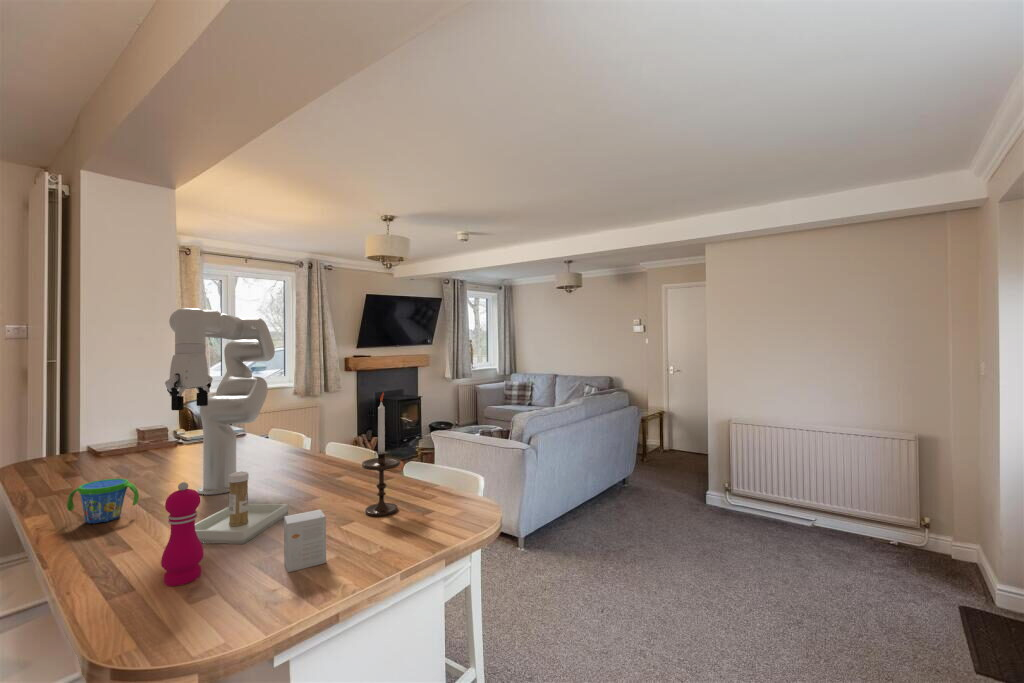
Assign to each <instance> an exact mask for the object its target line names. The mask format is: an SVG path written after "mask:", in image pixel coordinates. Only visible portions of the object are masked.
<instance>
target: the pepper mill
mask: <svg viewBox="0 0 1024 683" xmlns="http://www.w3.org/2000/svg"><path fill="white" fill-rule="evenodd" d="M177 489H178V490H174V492H172V493H171V494H169V495H168V496H167V497H166V500H165V505H164V507H165V511H166V512H168V514H169V515H168V516H167V518H168V520H167V523H168V524H170V535H169V538H168V542H167V544H166V546H165V548H164V551H163V553H162V555H161V562H160V563H161V564H160V565H161V567H162V569H163V570H165V571H166V572H164V575H163V583H164V585H165V586H167V587H179V586H182V585H186V584H189V583H192V582H194V581H196V580H198V579H199V578H200V576H201V574H202V566H201V564H200V563H201V561H202V560H203V558H204V554H205V552H204V547H203V543H201V542H200V540H199V538H198V536H197V534H196V531H195V523H196V520H197V519H198V510H197V508H199V506H200V504H201V494H199V493H198V490H195V489H192V488H189V484H188V483H187V482H186V481H184V482H180V483H179V484H178V485H177Z"/></svg>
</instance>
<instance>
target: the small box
mask: <svg viewBox="0 0 1024 683" xmlns="http://www.w3.org/2000/svg"><path fill="white" fill-rule="evenodd" d="M326 519H327V518H326V515H325V514H324V512H323V511H322V509H316V510H311V511H305V512H300V513H295V514H291V515H289V514H288V515H287V516H284V518H283V551H284V552H283V557H284V558H283V560H284V561H283V563H284V566H285V569H286V573H292V572H295V571H300V570H303V569H308V568H312V567H316V566H319V565H323V564H326V563H327V536H326V535H327V533H326V532H327V520H326Z"/></svg>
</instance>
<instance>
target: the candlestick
mask: <svg viewBox="0 0 1024 683" xmlns="http://www.w3.org/2000/svg"><path fill="white" fill-rule="evenodd" d="M384 392H385V391H382V394H381V396H380V398H379V400H380V403H379V406H378V407H377V452H374V455H377V457H375V458H369V459H366V460H363V461H362V463H361V468H362V469H364V470H368V471H377V472H378V479H379V480H378V483H377V484H376V489H378V492H377V493H376V494H377V495H376V496H378V502H377V503H375V504H370V505H369V506H367V507H366V508H365V511H364V512H365V515H366V516H368V517H373V518H374V517H375V518H379V517H380V518H382V517H387V516H388V517H389V516H392V515H393V514H396V513H397V512H398V505H397V504H395V503H392V502H386V501H385V495H387V494H386V492H385V489H386V488H387V483H385V471H386V470H392V469H395V468H398V467H400V466H401V459H400V458H397V457H388V456H387V457H386V454H389V451H386V450H385V449H386V448H385V447H386V446H385V444H386V442H385V441H386V436H385V435H386V427H385V426H386V425H385V423H386V422H385V420H386V419H385V418H386V415H385V413H386V410H385V406H384V404H383V401H384V400H383V399H384V396H385V393H384Z"/></svg>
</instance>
